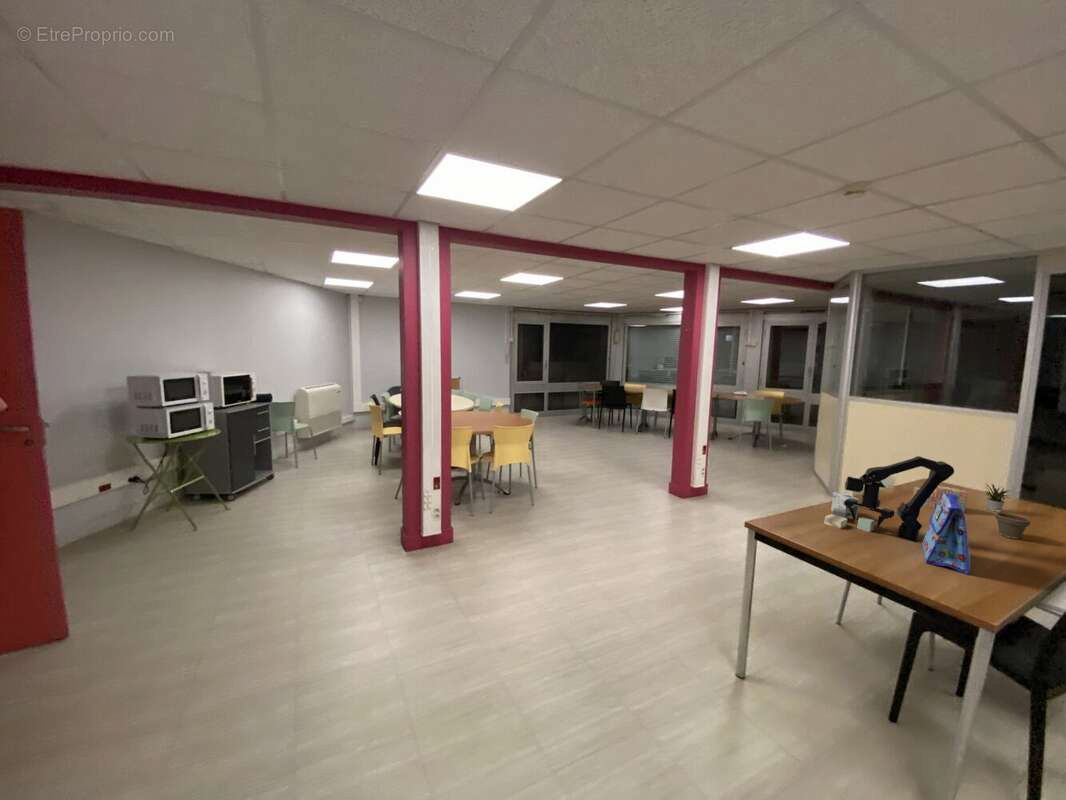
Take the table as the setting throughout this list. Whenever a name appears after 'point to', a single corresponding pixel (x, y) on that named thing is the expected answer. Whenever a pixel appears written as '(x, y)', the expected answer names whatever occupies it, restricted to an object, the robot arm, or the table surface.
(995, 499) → the house plant
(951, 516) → the lunch bag
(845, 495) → the light bulb box
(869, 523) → the sage block
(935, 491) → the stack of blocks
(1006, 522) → the flower pot
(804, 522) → the table surface
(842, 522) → the birch slab
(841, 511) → the grey block
